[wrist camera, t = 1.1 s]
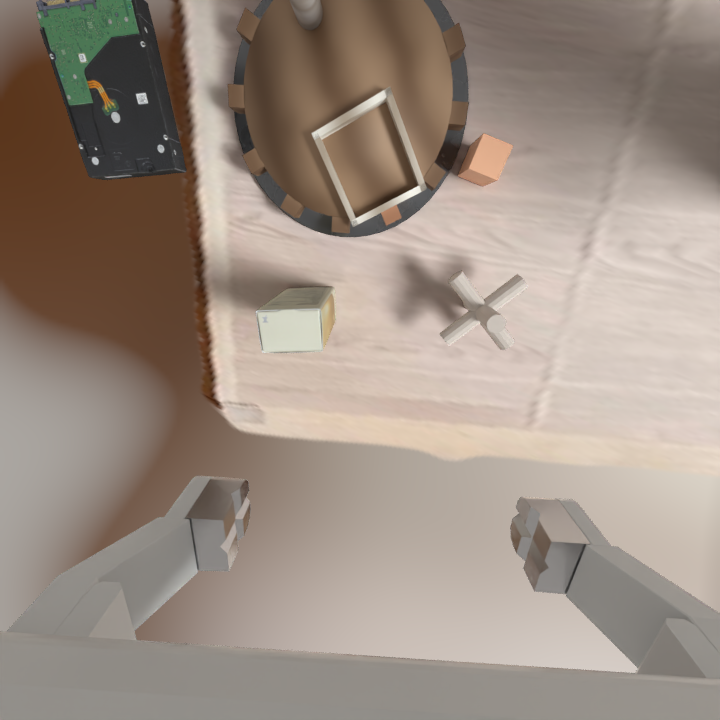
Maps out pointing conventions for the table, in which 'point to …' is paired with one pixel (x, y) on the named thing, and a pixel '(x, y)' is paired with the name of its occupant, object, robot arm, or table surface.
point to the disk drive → (113, 86)
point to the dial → (348, 103)
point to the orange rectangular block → (485, 160)
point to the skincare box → (297, 320)
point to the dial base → (418, 201)
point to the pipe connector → (483, 310)
